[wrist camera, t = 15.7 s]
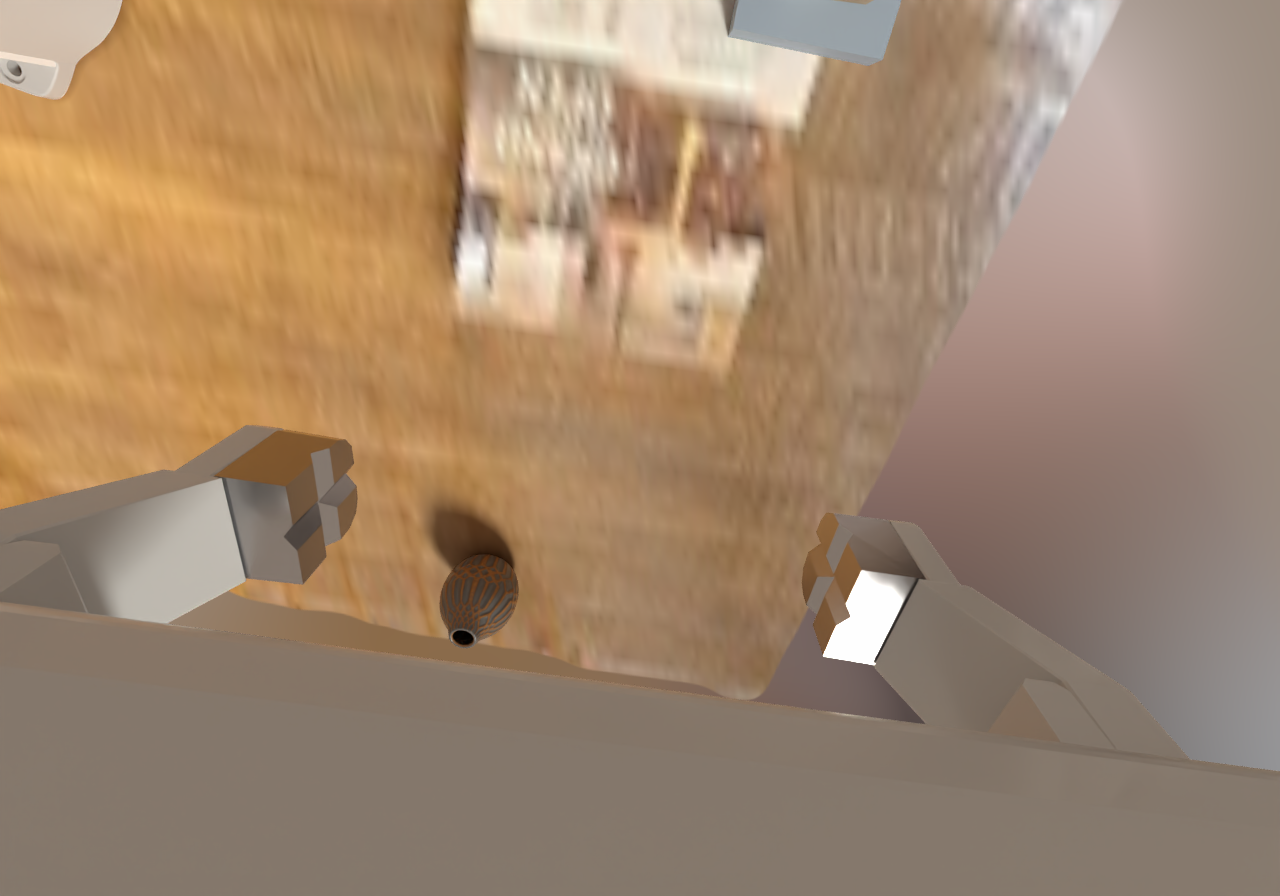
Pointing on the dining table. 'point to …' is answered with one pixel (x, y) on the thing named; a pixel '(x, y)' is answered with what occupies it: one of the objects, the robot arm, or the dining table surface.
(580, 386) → the dining table surface
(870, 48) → the slab
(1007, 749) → the robot arm
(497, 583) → the vase
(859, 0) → the pillar
